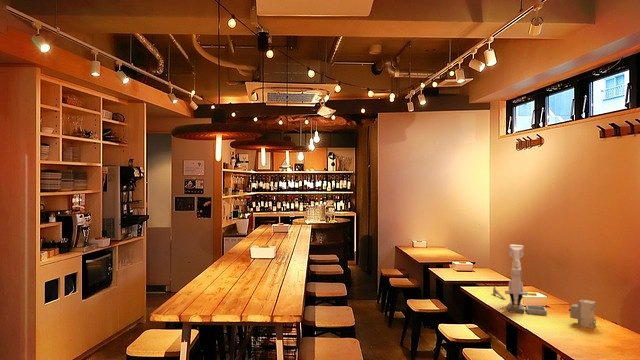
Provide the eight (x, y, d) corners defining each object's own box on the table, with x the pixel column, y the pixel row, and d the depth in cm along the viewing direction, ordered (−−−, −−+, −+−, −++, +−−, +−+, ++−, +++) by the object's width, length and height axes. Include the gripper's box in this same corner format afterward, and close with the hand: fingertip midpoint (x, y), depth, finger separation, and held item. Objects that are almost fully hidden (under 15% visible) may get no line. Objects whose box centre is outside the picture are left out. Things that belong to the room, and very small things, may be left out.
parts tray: (525, 309, 337) (525, 305, 337) (544, 311, 334) (544, 306, 334) (527, 313, 326) (527, 309, 326) (546, 315, 322) (546, 310, 322)
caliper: (492, 294, 385) (493, 286, 385) (494, 294, 385) (494, 286, 385) (504, 300, 364) (504, 292, 365) (506, 300, 365) (506, 292, 365)
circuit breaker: (571, 320, 310) (571, 297, 310) (595, 325, 300) (596, 301, 300) (567, 323, 305) (567, 299, 305) (592, 328, 295) (592, 303, 295)
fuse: (513, 309, 336) (513, 297, 336) (517, 309, 335) (518, 298, 335) (513, 310, 333) (513, 298, 333) (518, 310, 332) (518, 299, 332)
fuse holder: (507, 307, 341) (507, 304, 341) (522, 309, 338) (522, 305, 338) (508, 311, 330) (508, 308, 330) (524, 313, 327) (524, 309, 327)
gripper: (505, 285, 333) (505, 305, 332) (527, 287, 328) (527, 307, 328) (504, 283, 339) (504, 303, 339) (526, 285, 335) (526, 305, 335)
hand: (515, 305), depth 334 cm, fingers closed on fuse, 3 cm apart
